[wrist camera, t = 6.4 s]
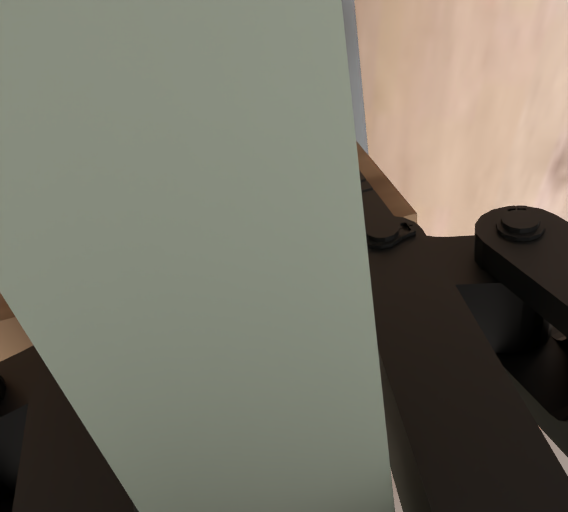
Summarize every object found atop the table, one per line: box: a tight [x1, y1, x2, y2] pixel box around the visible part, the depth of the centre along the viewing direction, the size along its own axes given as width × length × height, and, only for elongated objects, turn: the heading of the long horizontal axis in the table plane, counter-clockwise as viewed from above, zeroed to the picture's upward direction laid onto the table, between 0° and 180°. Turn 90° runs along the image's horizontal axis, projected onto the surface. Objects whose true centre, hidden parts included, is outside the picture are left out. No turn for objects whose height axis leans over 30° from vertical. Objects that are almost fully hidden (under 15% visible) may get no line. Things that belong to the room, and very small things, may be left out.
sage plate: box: [0, 0, 395, 512], centre depth 10 cm, size 15×2×12 cm, turn 10°
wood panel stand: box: [0, 0, 417, 361], centre depth 23 cm, size 22×16×13 cm
